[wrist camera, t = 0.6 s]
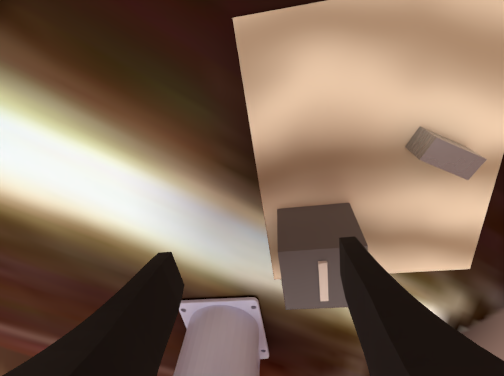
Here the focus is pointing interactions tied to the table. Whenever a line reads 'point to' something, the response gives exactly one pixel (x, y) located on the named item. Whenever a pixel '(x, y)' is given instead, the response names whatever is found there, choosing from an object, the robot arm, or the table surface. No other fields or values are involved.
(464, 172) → the post
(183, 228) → the table surface
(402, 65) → the board
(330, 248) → the grey cube
